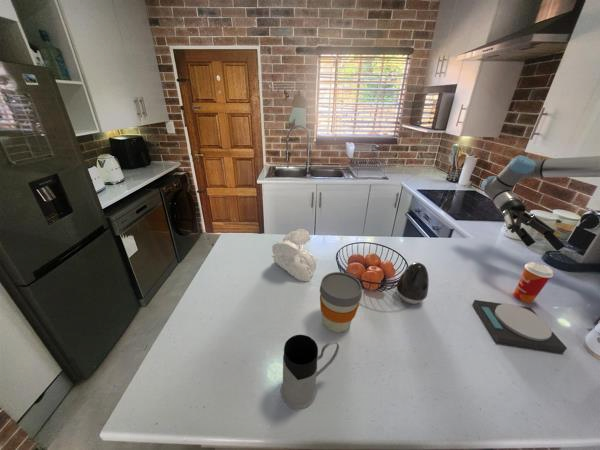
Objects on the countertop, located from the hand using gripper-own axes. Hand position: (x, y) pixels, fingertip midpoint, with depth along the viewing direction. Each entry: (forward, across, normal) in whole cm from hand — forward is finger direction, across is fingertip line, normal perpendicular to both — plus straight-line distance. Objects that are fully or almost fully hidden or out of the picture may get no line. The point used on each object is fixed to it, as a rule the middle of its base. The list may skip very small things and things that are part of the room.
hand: (546, 246), depth 87 cm
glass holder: (+38, +84, -23) cm, 95 cm away
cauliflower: (-8, +83, -41) cm, 92 cm away
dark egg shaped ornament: (+10, +43, -26) cm, 51 cm away
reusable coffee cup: (+19, +72, -28) cm, 79 cm away
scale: (+23, +16, -16) cm, 32 cm away
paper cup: (+11, 0, -18) cm, 21 cm away
